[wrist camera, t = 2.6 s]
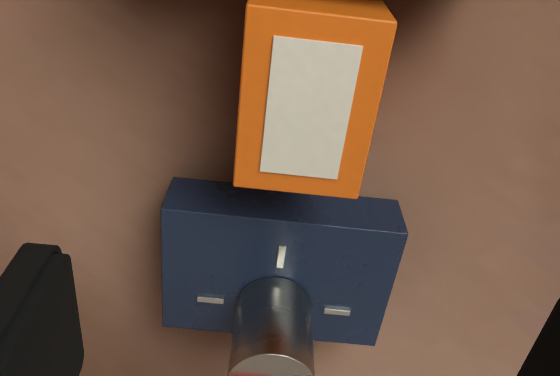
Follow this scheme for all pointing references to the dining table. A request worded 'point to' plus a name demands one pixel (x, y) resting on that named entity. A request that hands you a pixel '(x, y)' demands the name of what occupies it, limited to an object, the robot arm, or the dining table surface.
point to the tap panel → (278, 255)
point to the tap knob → (272, 330)
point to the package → (310, 93)
